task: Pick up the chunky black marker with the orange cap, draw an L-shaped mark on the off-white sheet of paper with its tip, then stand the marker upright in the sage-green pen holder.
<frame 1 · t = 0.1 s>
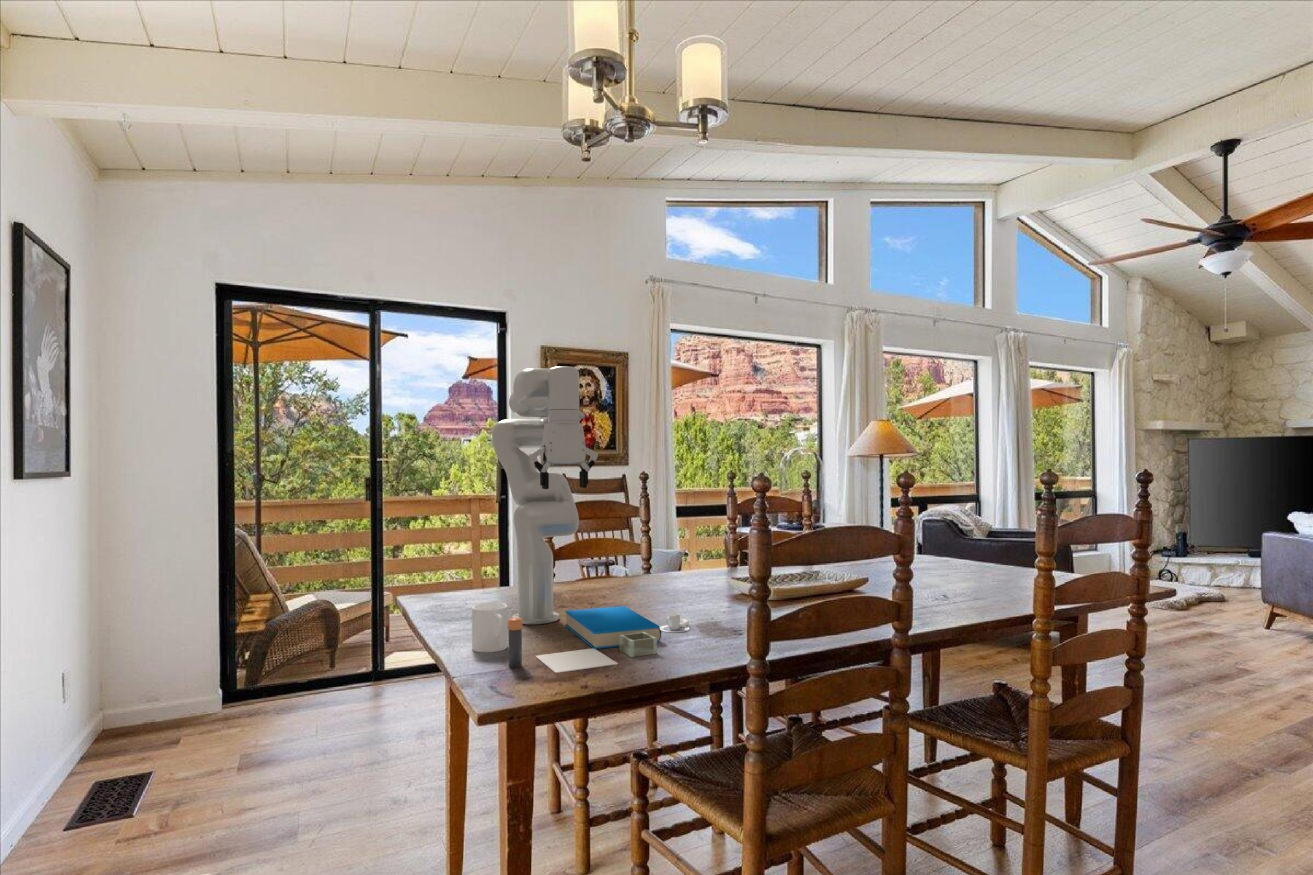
hand: (564, 488, 188), 37 cm above the table, tool pointing down, fingers open, 9 cm apart
book: (611, 634, 193), on the table, touching paper
teacup and saucer: (686, 631, 197), on the table
mug: (493, 650, 179), on the table
paper: (575, 660, 169), on the table
marker: (515, 665, 166), on the table
pen holder: (637, 651, 176), on the table
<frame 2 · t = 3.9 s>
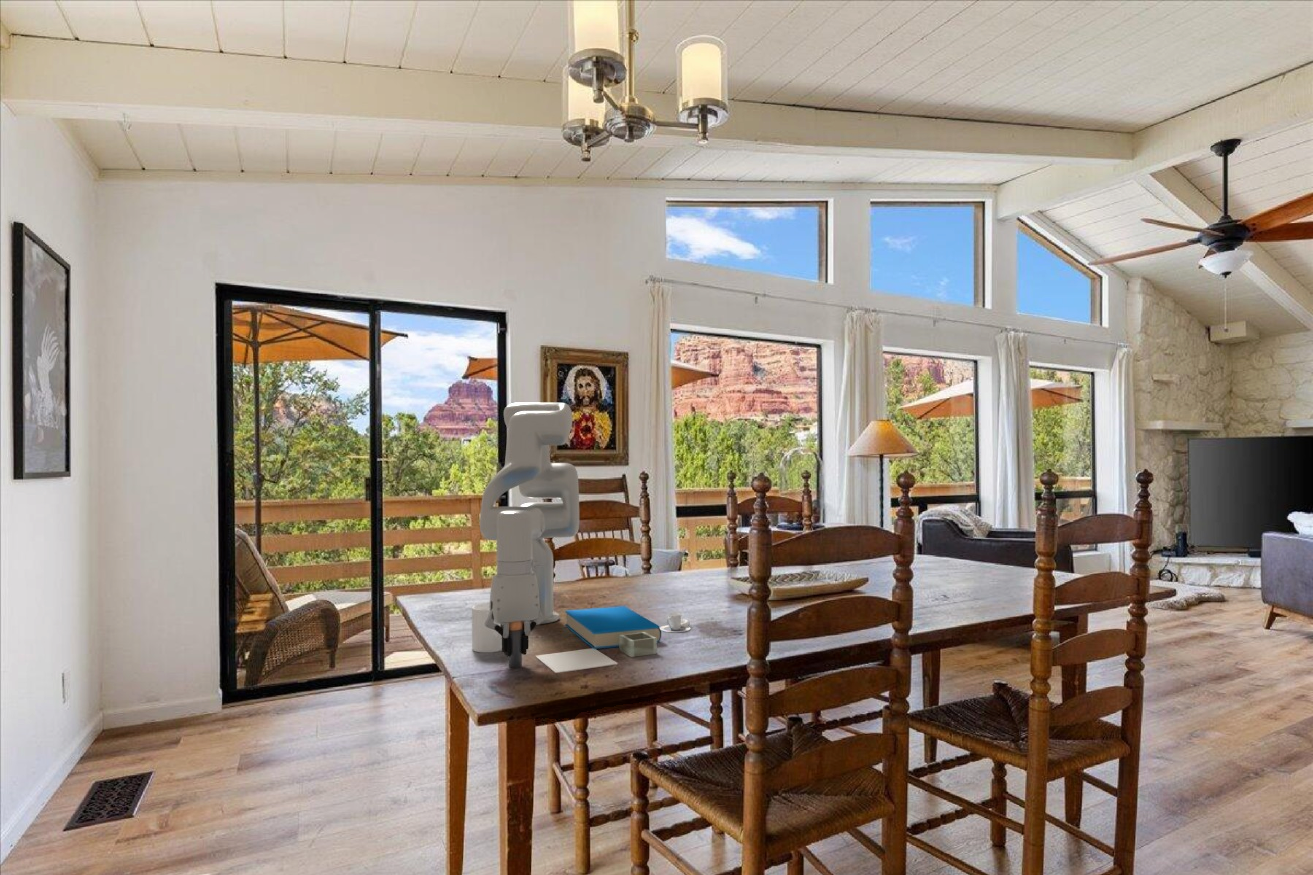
hand: (515, 653, 166), 3 cm above the table, tool pointing down, fingers closed on marker, 2 cm apart
marker: (515, 665, 166), on the table, touching gripper
everything else where it was.
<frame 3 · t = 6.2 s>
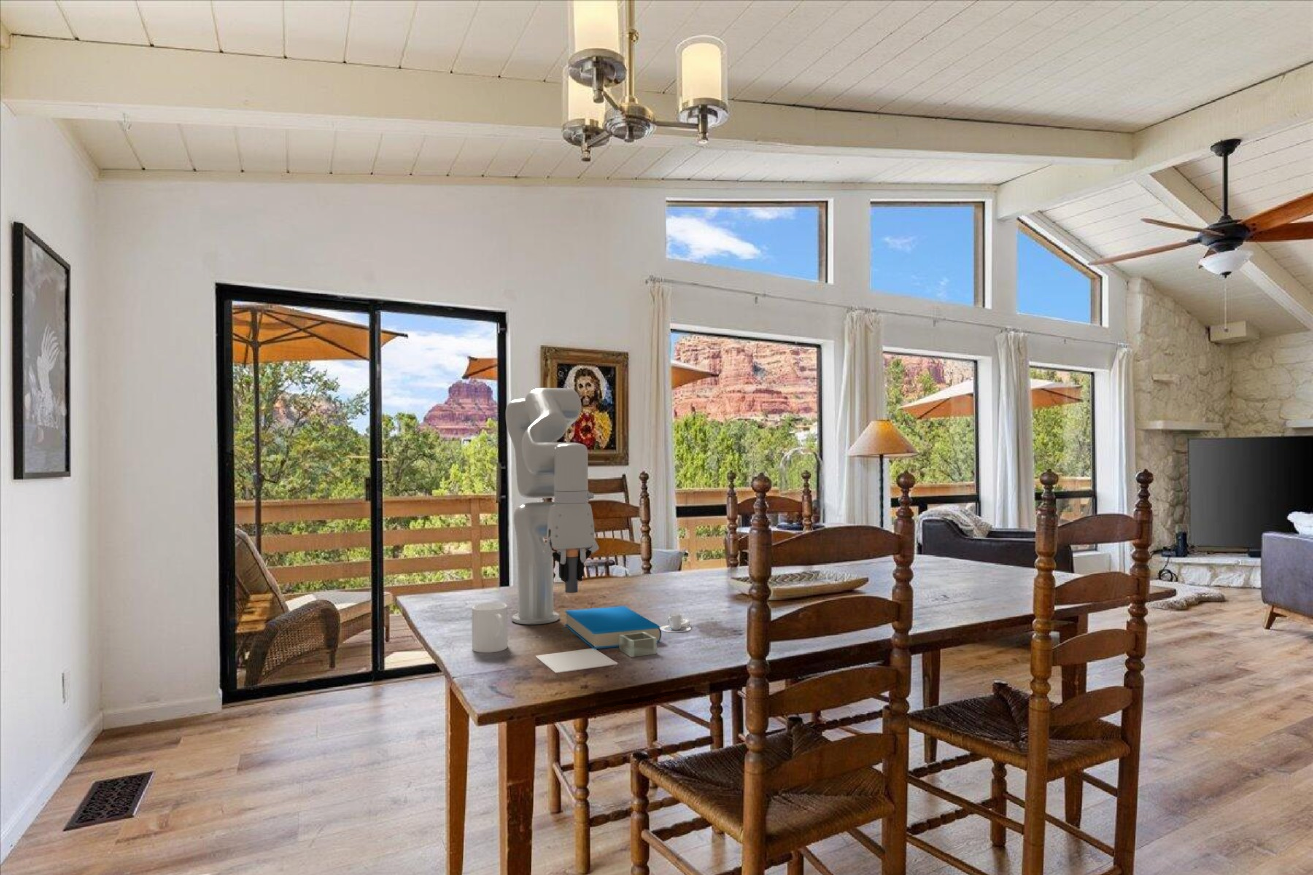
hand: (571, 579, 174), 17 cm above the table, tool pointing down, fingers closed on marker, 2 cm apart
marker: (571, 591, 174), point 14 cm above the table, touching gripper
everything else where it was.
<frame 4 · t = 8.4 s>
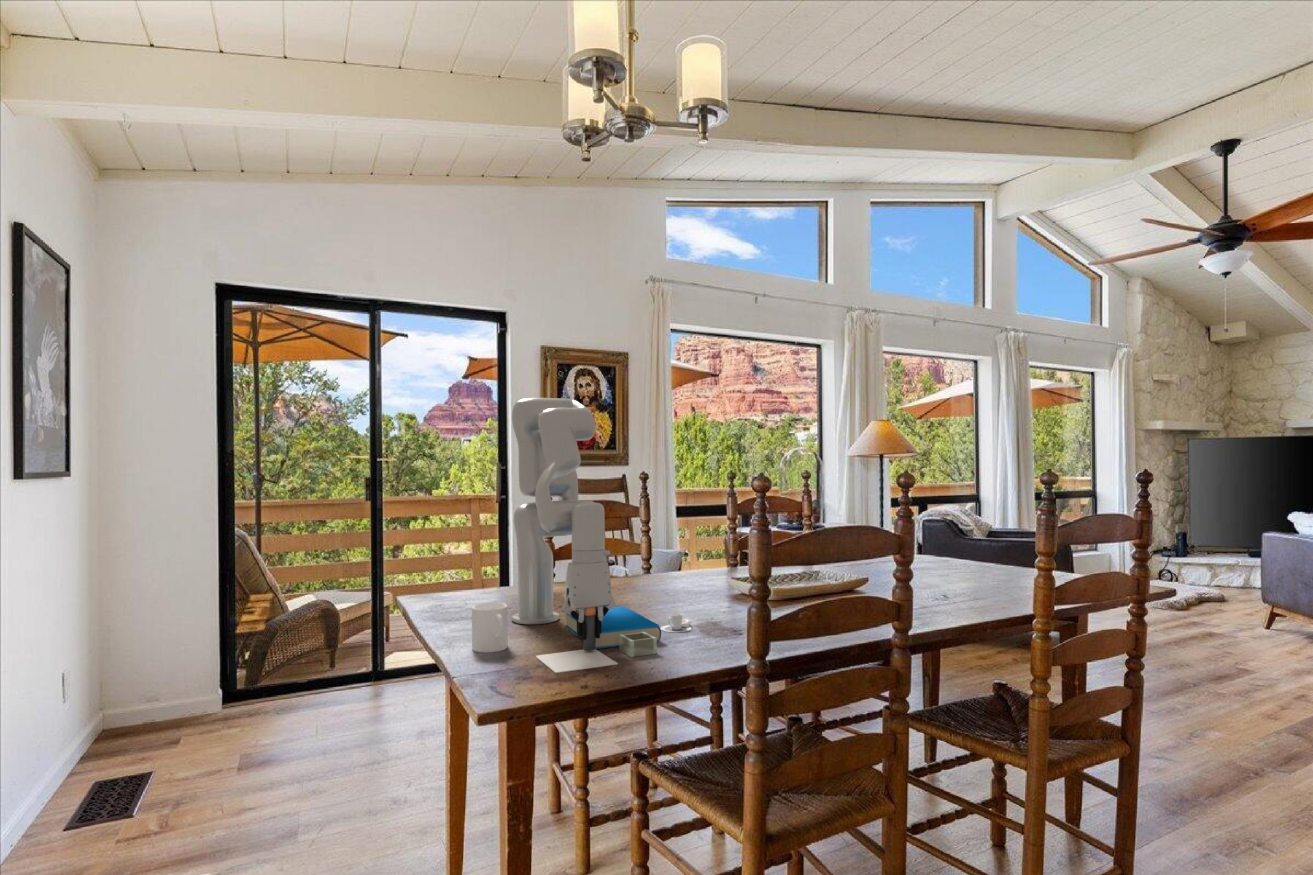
hand: (589, 637, 176), 3 cm above the table, tool pointing down, fingers closed on marker, 2 cm apart
book: (611, 634, 193), on the table, touching gripper, paper
marker: (589, 649, 176), point 1 cm above the table, touching gripper
everything else where it was.
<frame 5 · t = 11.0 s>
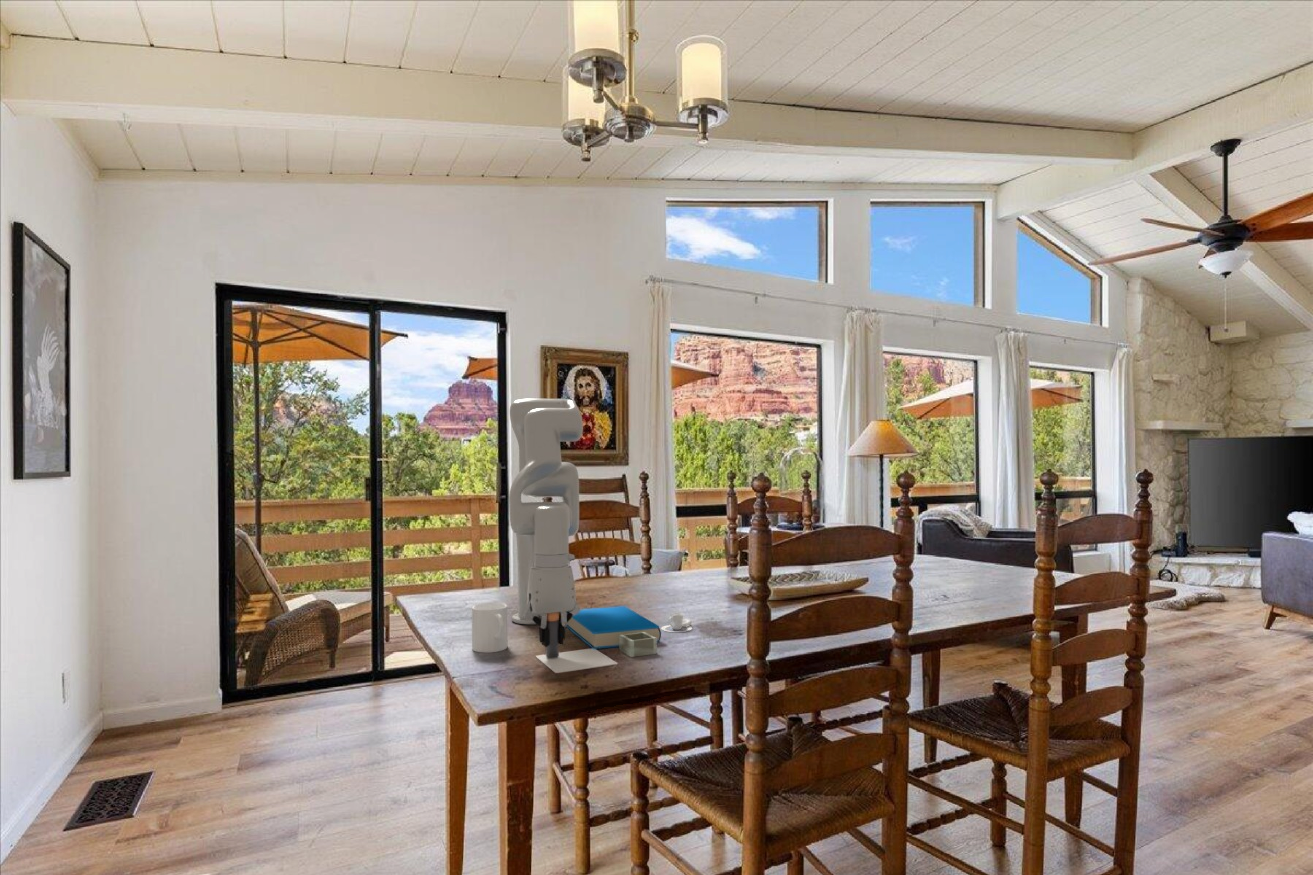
hand: (552, 643, 171), 3 cm above the table, tool pointing down, fingers closed on marker, 2 cm apart
book: (611, 634, 193), on the table, touching paper
marker: (552, 655, 171), point 1 cm above the table, touching gripper
everything else where it was.
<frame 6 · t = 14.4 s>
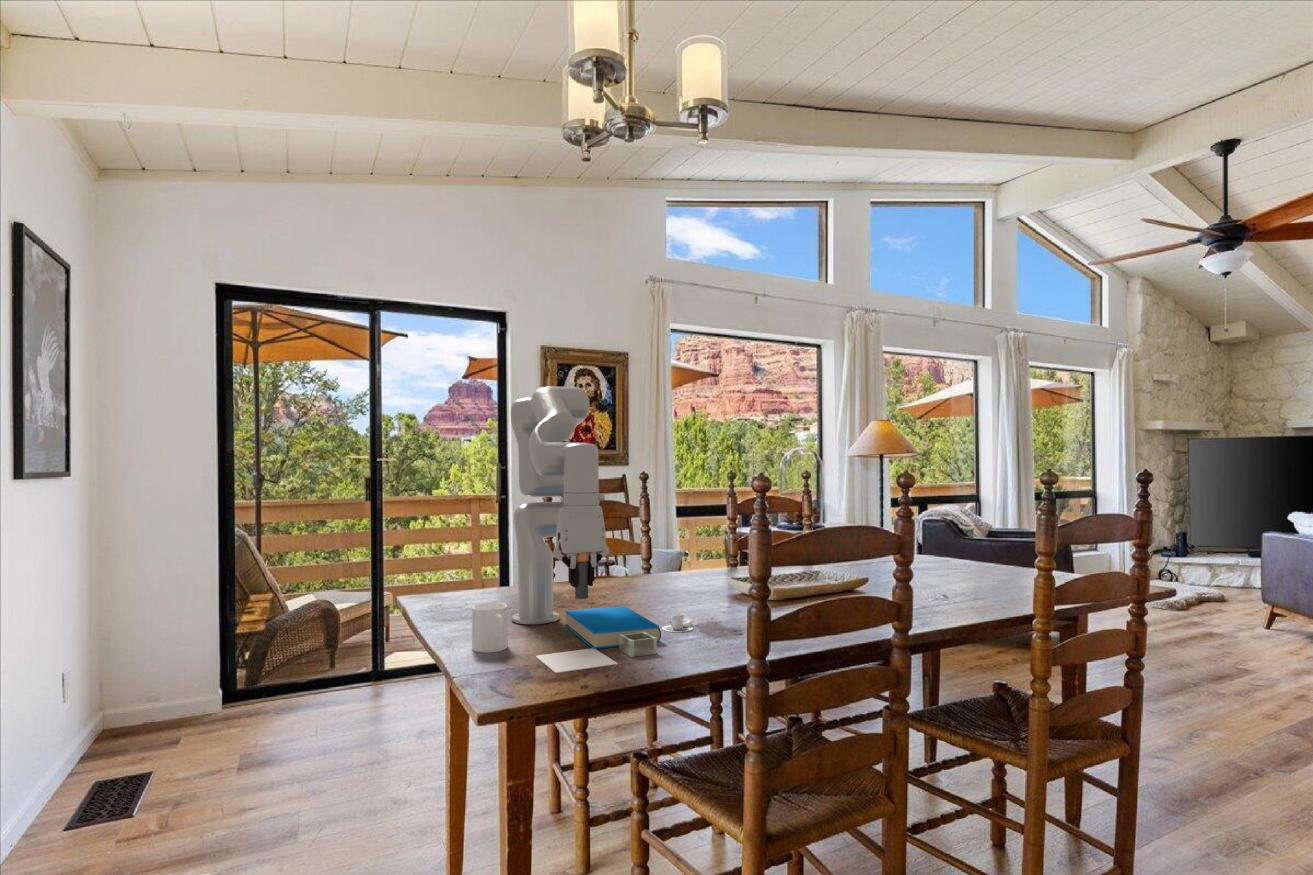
hand: (581, 584, 167), 17 cm above the table, tool pointing down, fingers closed on marker, 2 cm apart
marker: (581, 597, 167), point 14 cm above the table, touching gripper
everything else where it was.
when the fingers open (5 cm above the table, at t = 17.9 s): marker drops 2 cm, resting in pen holder.
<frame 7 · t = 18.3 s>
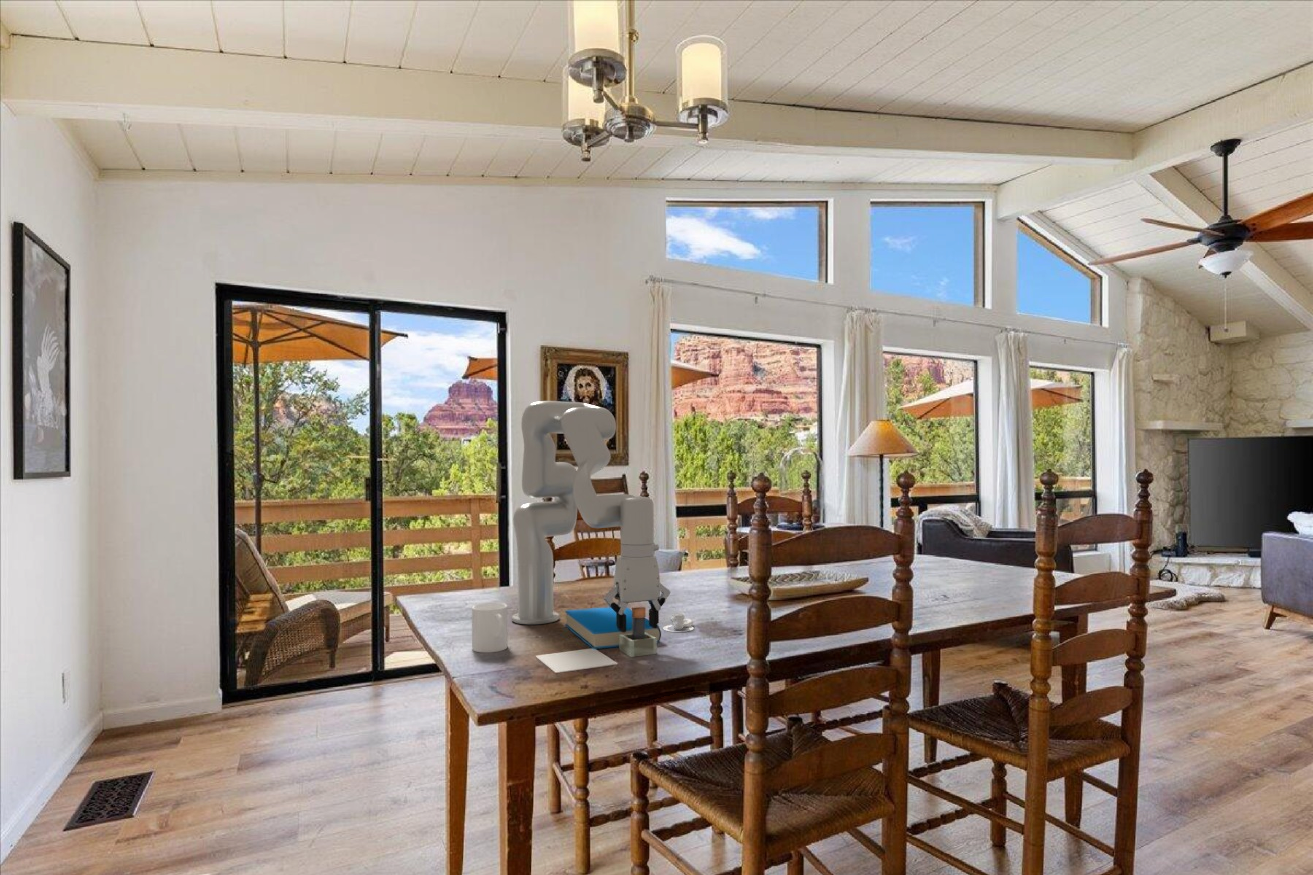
hand: (637, 628, 176), 5 cm above the table, tool pointing down, fingers open, 7 cm apart
marker: (638, 651, 176), resting in pen holder
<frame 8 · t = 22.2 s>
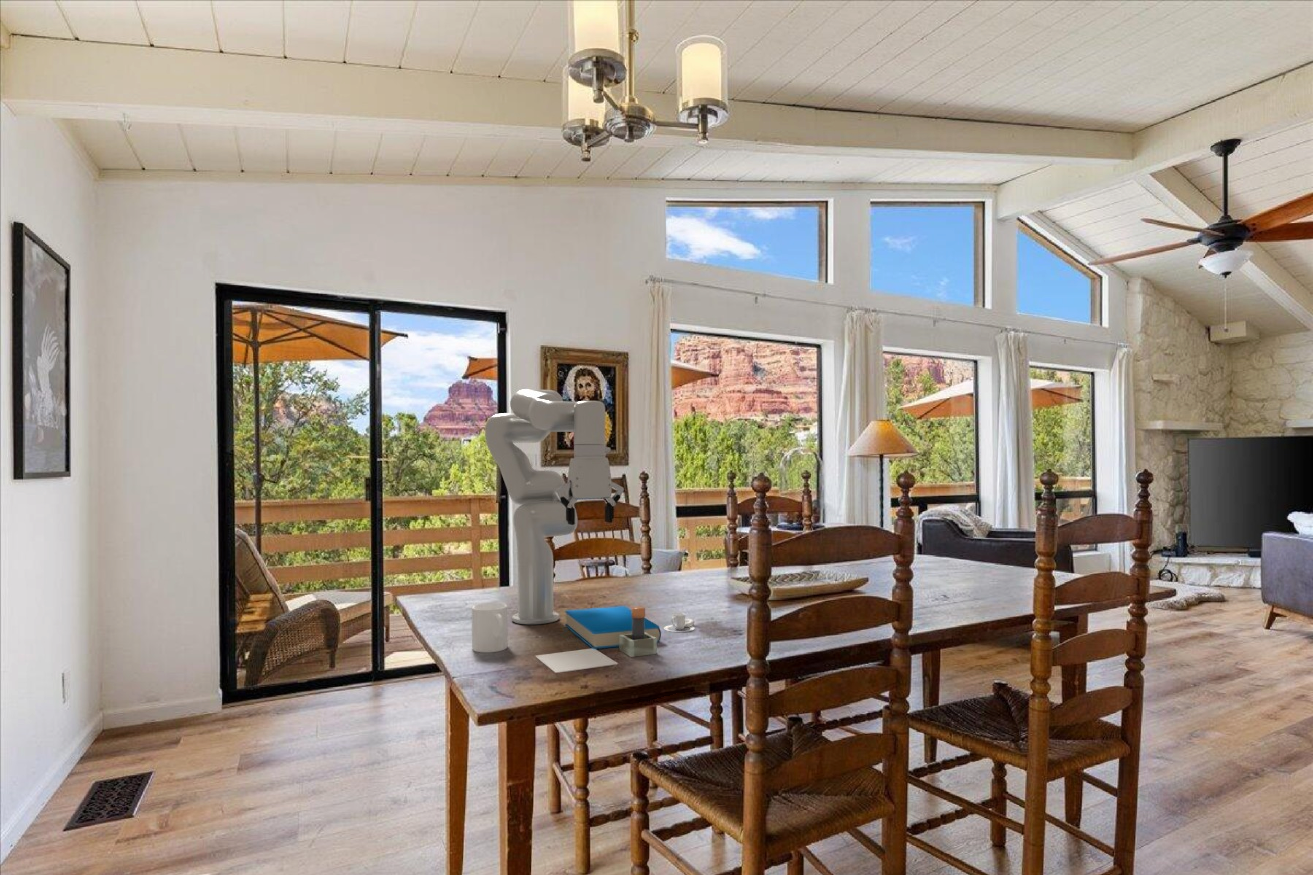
hand: (590, 523, 186), 28 cm above the table, tool pointing down, fingers open, 9 cm apart
at the end: marker 0.1 cm off-centre on the pen holder, point 0.0 cm above the pen holder's base; marker tilted 0°; the gripper is holding nothing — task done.
